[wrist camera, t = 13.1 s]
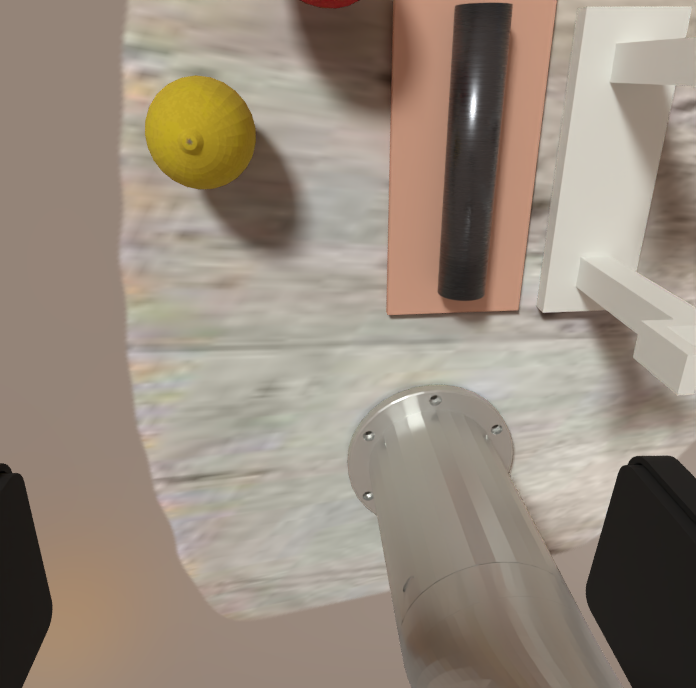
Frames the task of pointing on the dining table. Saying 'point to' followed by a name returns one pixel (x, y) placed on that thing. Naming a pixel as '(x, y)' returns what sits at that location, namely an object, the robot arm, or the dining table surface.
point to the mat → (430, 151)
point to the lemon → (200, 132)
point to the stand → (619, 180)
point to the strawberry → (329, 3)
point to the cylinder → (472, 146)
